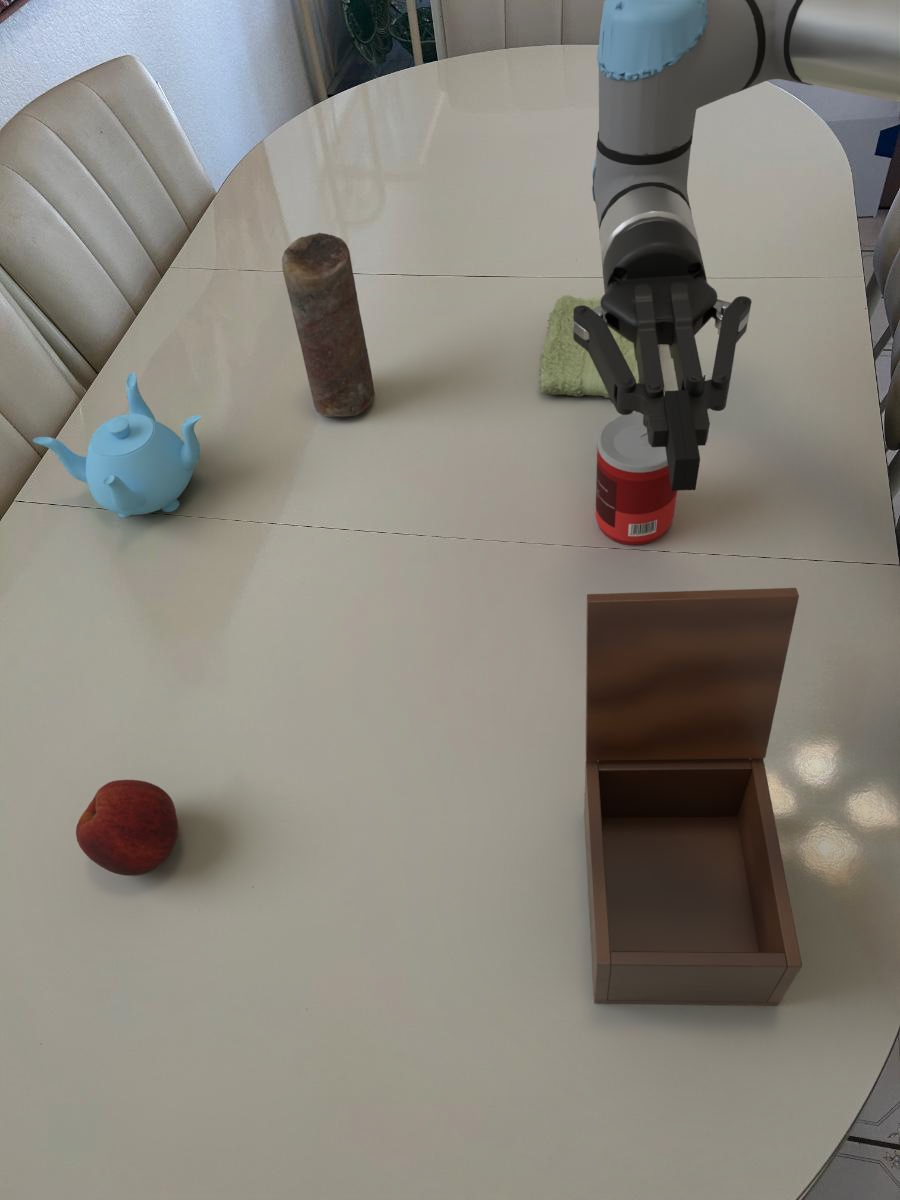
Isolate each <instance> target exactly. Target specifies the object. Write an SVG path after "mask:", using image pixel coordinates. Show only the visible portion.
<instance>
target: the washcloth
mask: <svg viewBox="0 0 900 1200" xmlns="http://www.w3.org/2000/svg"><path fill="white" fill-rule="evenodd" d="M601 298H602V297H600V296H596V297H591V298H580V297H579V298H578V297H575V296H572V295H568V294H565V295H562V296H561V297H560V298H558V299H557V300H556V302H555V304H554V307H553V309H552V312H550V313H549V317H548V320H547V322H548V323H547V324H548V326H547V327H546V329H547V331H546V335H545V336H546V337H545V340H544V343H543V351H542V353H541V357H540V361H539V362H540V366H539V367H540V368H539V374H538V375H539V380H538V381H539V382H538V384H539V387H538V389H539V391H540V392H541V394H542V395H553V396H554V395H555V396H556V395H566V396H572V397H574V396H575V397H579V398H580V397H582V396H584V395H586V396H593V397H594V396H595V397H596V396H601V397H604V398H605V399H611V398H610V396H609V394H608V392H607V390H606V388H605V386H604V383H603V381H602V379H601V377H600V375H599V373H598V371H597V369H596V367H595V365H594V363H593V361H592V359H591V357H590V354H589V352H588V351H587V350H585V349H584V348H583V347H582V346H580V345H579V344H578V343H577V342H575V341H574V339H573V319H574V308H575V307H577V306H581V305H584V306H587V307H589V308H590V309H594V308H597V307H599V306H601V304H600V302H601ZM608 327H609V326H608ZM609 329H610V331H611V333H612V335H613V337H614V339H615V341H616V343H617V345H618V347H619V349H620V351H621V352H622V354H623V356H624V358H625V360H626V362H627V364H628V366H629V368H630V370H631V372H632V374H633V376H634V377H635V379H636V383H638V384H640V383H639V375H638V367H637V360H635V352H634V345H633V343H632V342H630V341H629V340H627V339H626V338H624V337H623V336H621V335H620V334H619V333H617V332H616V331H614V330H613V329H612V328H610V327H609Z"/></svg>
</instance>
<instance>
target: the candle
mask: <svg viewBox="0 0 900 1200" xmlns="http://www.w3.org/2000/svg"><path fill="white" fill-rule="evenodd" d="M281 267H282V268H281V269H282V274H283V277H284V282H285V286H286V289H287V291H286V292H287V294H288V298H289V302H290V307H291V312H292V316H293V320H294V323H295V324H294V325H295V329H296V332H297V333H296V334H297V336H298V340H299V345H300V348H301V353H302V357H303V362H304V367H305V371H306V377H307V381H308V384H309V388H310V393H311V397H312V398H311V399H312V402H313V406H314V408H315V411H316V412H317V413H318V414H320V415H321V416H323V417H327V418H333V417H354V416H358V415H359V414H361V413H362V412H364V411H365V410H367V409H368V407H369V405H370V404H371V403H372V402H373V400H374V398H375V395H376V391H375V386H374V380H373V379H374V378H373V374H372V368H371V362H370V357H369V353H368V347H367V342H366V341H367V340H366V336H365V331H364V330H365V329H364V325H363V320H362V315H361V311H360V310H361V309H360V304H359V299H358V292H357V288H356V280H355V275H354V270H353V264H352V259H351V253H350V249H349V247H348V245H347V243H346V241H344V240H343V239H342V238H341V237H338V236H336V235H332V234H328V233H324V232H318V233H317V232H316V233H314V234H308V235H306V236H301V237H298V238H297V239H295V240H294V241H292V242H290V244H289V245H288V247H286V249H285V250H284V251H283V254H282V258H281Z"/></svg>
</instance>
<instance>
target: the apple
mask: <svg viewBox="0 0 900 1200" xmlns="http://www.w3.org/2000/svg"><path fill="white" fill-rule="evenodd" d="M178 836H179V822H178V817H177V811H176V806H175V803H174V801H173V799H172V797H171V795H169V794H168V793H167V791H166V790H164V789H163V788H161V787H160V786H158V785H156V784H154V783H151V782H148V781H145V780H138V779H117V780H112V781H109V782H107V783H106V784H104V785H103V786H101V787H100V788H99V789H97V791H96V793H95V794H94V797H93V798H92V800H91V801H90V803H89V804H88V806H87V808H86V809H84V811H83V813H82V814H81V816H80V817H79V819H78V821H77V824H76V828H75V837H76V841H77V844H78V847H80V849H81V850H82V852H83V853H84V854H85V855H86V856H87V858H88V859H90V860H91V861H92V862H93V863H95V864H96V865H98V866H99V867H101V868H103V869H104V870H106V871H108V872H110V873H113V874H116V875H120V876H127V877H128V876H129V877H136V876H141V875H145V874H149V873H151V872H153V871H155V870H157V869H158V868H159V867H160V866H162V864H163V863H165V861H166V860H167V859H168V858H169V857H170V855H171V853H172V852H173V850H174V849H175V846H176V842H177V839H178Z"/></svg>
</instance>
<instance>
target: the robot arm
mask: <svg viewBox="0 0 900 1200" xmlns="http://www.w3.org/2000/svg"><path fill="white" fill-rule="evenodd" d="M601 13H602V16H601V21H600V28H599V38H598V39H599V42H598V47H597V54H596V60H597V67H598V131H597V140H596V145H595V146H596V148H595V149H596V150H595V151H596V153H595V159H594V163H593V167H592V175H591V176H592V186H591V192H592V199H593V201H594V204H595V210H596V218H597V225H598V235H599V245H600V257H601V258H600V259H601V268H602V278H603V280H602V281H603V288H604V289H603V290H604V294H603V295H602V297H601V302H600V304H601V306H599V307H597V308H594V309H590V308H589V307H587V306H584V305H581V306H577V307H575V308H574V319H573V339H574V341H575V342H577V343H578V344H579V345H580V346H582V347H583V348H584V349H585V350H587V351H588V352H589V354H590V357H591V359H592V361H593V363H594V365H595V367H596V369H597V371H598V373H599V375H600V377H601V379H602V381H603V383H604V386H605V388H606V390H607V392H608V394H609V396H610V398H609V399H610V400H611V403H612V404H613V406H614V408H615V410H616V412H617V413H618V414H619V415H629V414H631V413H632V412H639V413H641V414H643V415H644V416H643V425H644V426H645V427H647V435H648V442H649V444H650V445H651V446H652V447H665V449H666V456H667V462H668V469H669V476H670V483H671V489H672V491H677V492H678V491H681V492H682V491H696V490H697V481H698V477H699V476H698V475H699V470H700V463H701V456H700V450H699V447H700V446H702V447H703V446H706V445H707V442H708V438H709V433H710V426H711V423H710V418H709V412H708V410H711V411H714V412H721V411H723V410H725V409H726V407H727V401H728V395H729V390H730V384H731V380H732V379H731V378H732V372H733V366H734V360H735V353H736V347H737V344H738V342H739V340H740V339H741V338H742V337H743V335H744V334H746V332H747V328H748V324H749V318H750V312H751V308H752V299H751V298H750V297H748V296H745V295H740V296H737V297H735V298H734V299H733V301H731V302H729V301H727V300H723V299H719V298H718V293H717V290H716V289H715V288H714V287H712V286H711V284H709V283H708V280H707V274H706V269H705V264H704V260H703V255H702V252H701V247H700V243H699V237H698V233H697V230H696V225H695V222H694V218H693V214H692V208H691V204H690V199H689V193H688V178H689V170H690V169H689V167H690V159H691V149H692V144H693V137H694V129H695V123H696V116H697V115H696V114H697V111H698V109H700V108H702V107H705V106H707V105H709V104H712V103H714V102H717V101H719V100H722V99H724V98H727V97H728V96H732V95H735V94H737V93H739V92H742V91H745V90H747V89H749V88H752V87H754V86H757V85H759V84H762V83H765V82H768V81H771V80H782V81H787V82H793V83H796V84H797V83H798V84H801V85H807V86H817V87H822V88H827V89H830V90H836V91H842V92H846V93H851V94H856V95H861V96H865V97H870V98H876V99H880V100H884V101H890V102H895V103H900V0H604V2H603V5H602V12H601ZM711 319H714V327H715V329H717V335H718V339H717V345H716V352H715V357H714V364H713V369H712V374H711V378H710V379H707V380H706V374H704V375H703V370H702V365H701V362H700V361H701V360H700V356H699V351H698V345H697V341H696V337H695V336H696V335H697V334H698V333H699V332H700V331H701V330H702V328H703V327H704V326H705V325H706V324H707V323H708V322H709V321H710V320H711ZM608 326H609V327H610V328H612V329H613V330H614V331H616V332H617V333H619V334H620V335H621V336H623V337H624V338H626V339H627V340H629V341H630V342H632V343H633V345H634V352H635V360H637V367H638V375H639V383H640V384H638V383H636V379H635V377H634V376H633V374H632V372H631V370H630V368H629V366H628V364H627V362H626V360H625V358H624V356H623V354H622V352H621V351H620V349H619V347H618V345H617V343H616V341H615V339H614V337H613V335H612V333H611V331H610V329H609V327H608ZM659 345H660V346H661V345H665V346H668V349H669V355H670V359H672V362H673V369H674V375H675V380H676V385H677V389H675V390H665V382H664V375H663V368H662V362H661V356H660V355H661V354H660V349H659Z"/></svg>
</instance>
